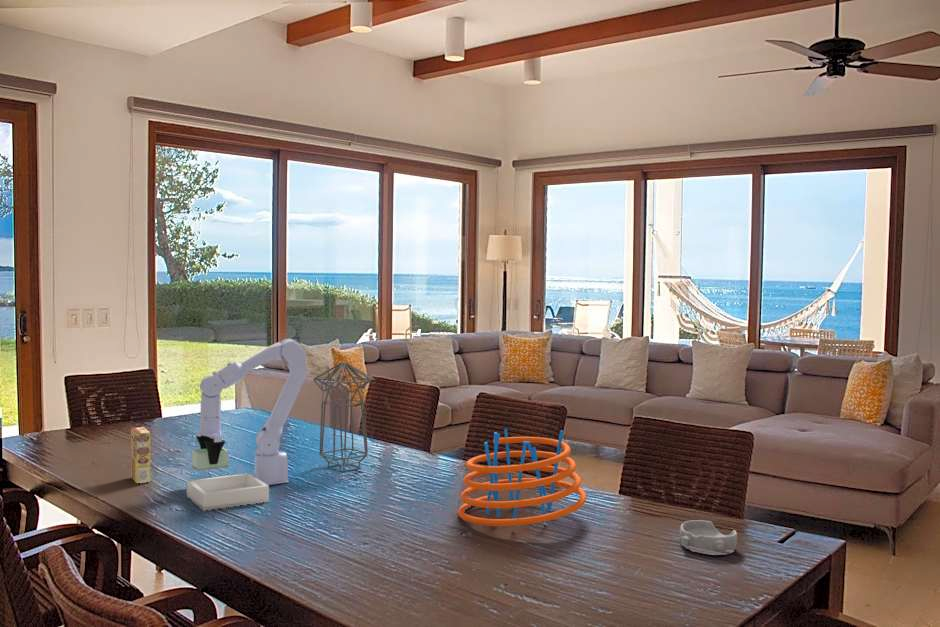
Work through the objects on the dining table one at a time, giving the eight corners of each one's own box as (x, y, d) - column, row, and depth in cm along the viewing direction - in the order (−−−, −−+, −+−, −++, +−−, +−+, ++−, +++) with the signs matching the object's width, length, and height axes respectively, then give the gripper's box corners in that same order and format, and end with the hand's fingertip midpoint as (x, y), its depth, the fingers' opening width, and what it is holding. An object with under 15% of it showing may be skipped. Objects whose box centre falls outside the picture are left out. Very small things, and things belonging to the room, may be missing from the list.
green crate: (222, 463, 246) (222, 447, 246) (228, 467, 242) (228, 450, 242) (191, 466, 241) (192, 450, 241) (197, 470, 237) (197, 453, 236)
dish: (692, 535, 210) (693, 516, 210) (745, 548, 201) (746, 528, 201) (667, 549, 199) (668, 528, 198) (722, 563, 190) (723, 542, 190)
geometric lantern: (336, 476, 257) (335, 366, 256) (310, 467, 269) (310, 362, 268) (377, 468, 268) (377, 362, 266) (351, 460, 280) (350, 358, 278)
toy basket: (501, 551, 196) (492, 452, 195) (437, 520, 227) (430, 435, 226) (614, 521, 213) (607, 430, 212) (540, 496, 243) (534, 416, 243)
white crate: (248, 488, 241) (249, 473, 240) (268, 501, 227) (269, 485, 227) (186, 496, 230) (186, 480, 230) (203, 511, 217) (203, 494, 217)
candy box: (150, 482, 243) (151, 431, 243) (135, 484, 241) (136, 433, 240) (144, 476, 251) (144, 426, 250) (129, 477, 248) (130, 427, 248)
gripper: (189, 413, 244) (189, 458, 245) (204, 421, 233) (204, 468, 233) (213, 411, 249) (212, 455, 249) (229, 419, 237) (228, 465, 237)
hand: (210, 461), depth 242 cm, fingers closed on green crate, 6 cm apart
